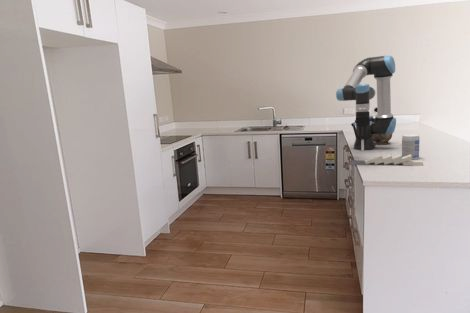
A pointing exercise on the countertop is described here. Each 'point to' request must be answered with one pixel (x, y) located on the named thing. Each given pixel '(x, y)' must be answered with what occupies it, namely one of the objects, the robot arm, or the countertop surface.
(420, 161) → the domino
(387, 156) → the domino
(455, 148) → the countertop surface
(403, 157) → the domino
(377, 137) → the ceramic jug
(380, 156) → the domino
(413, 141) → the supplement tub
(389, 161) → the domino
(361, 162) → the mat
